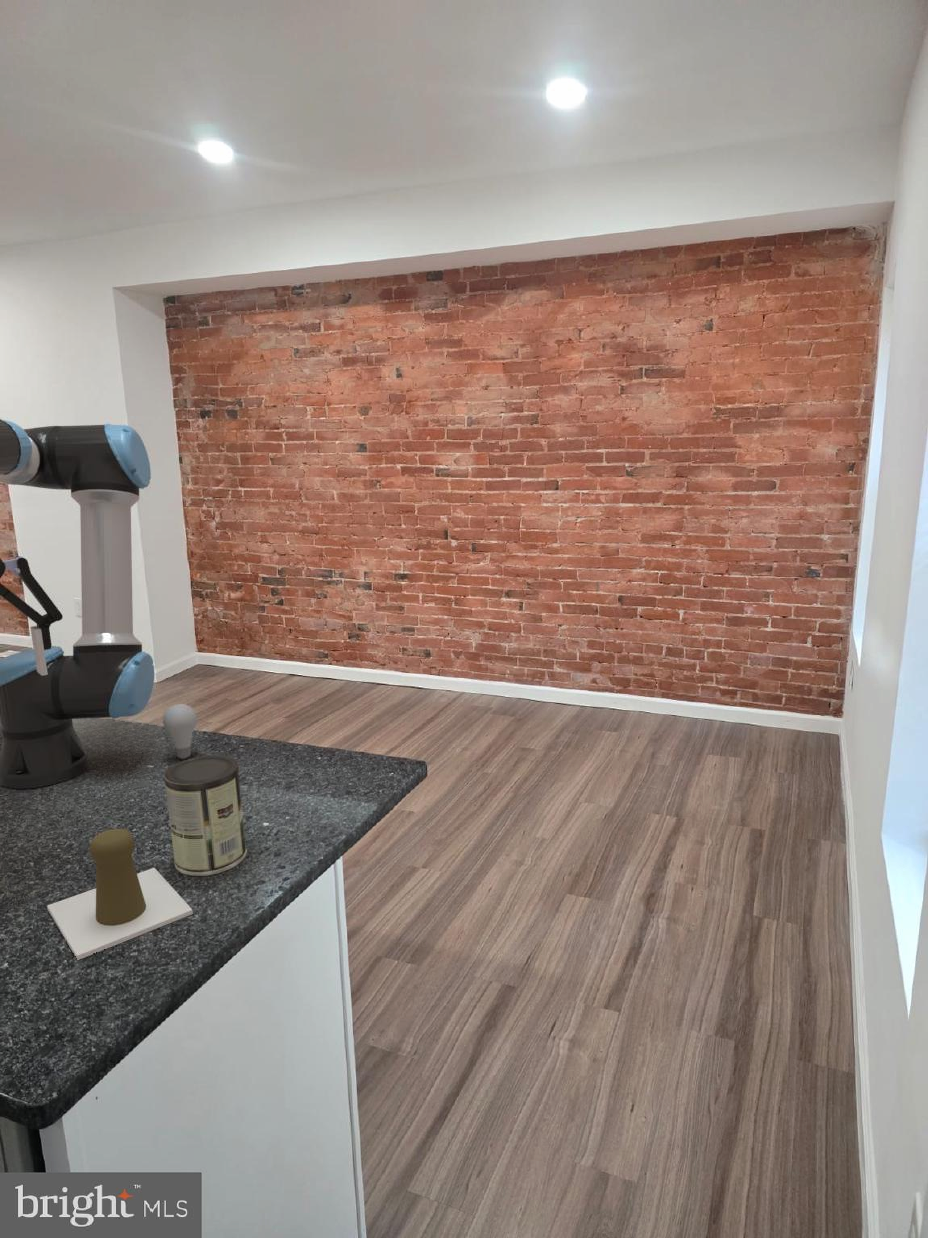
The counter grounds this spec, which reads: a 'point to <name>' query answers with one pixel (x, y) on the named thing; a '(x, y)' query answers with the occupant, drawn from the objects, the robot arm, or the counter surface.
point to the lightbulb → (180, 727)
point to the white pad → (94, 937)
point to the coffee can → (205, 814)
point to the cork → (116, 878)
